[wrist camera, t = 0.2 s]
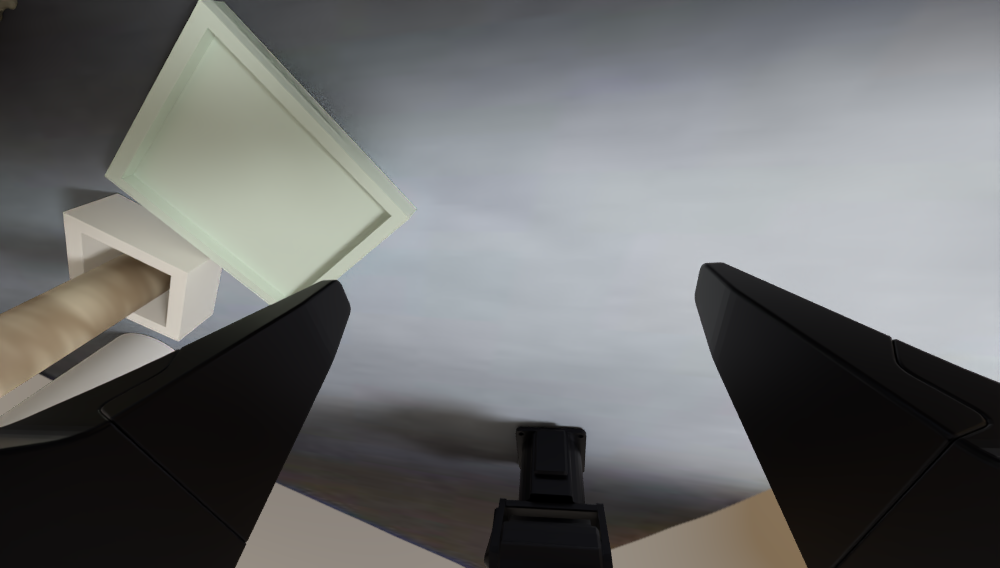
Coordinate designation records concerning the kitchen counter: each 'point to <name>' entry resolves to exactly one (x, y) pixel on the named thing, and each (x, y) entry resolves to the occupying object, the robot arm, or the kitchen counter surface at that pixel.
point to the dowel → (73, 316)
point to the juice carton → (7, 6)
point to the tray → (253, 164)
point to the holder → (145, 260)
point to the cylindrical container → (92, 373)
